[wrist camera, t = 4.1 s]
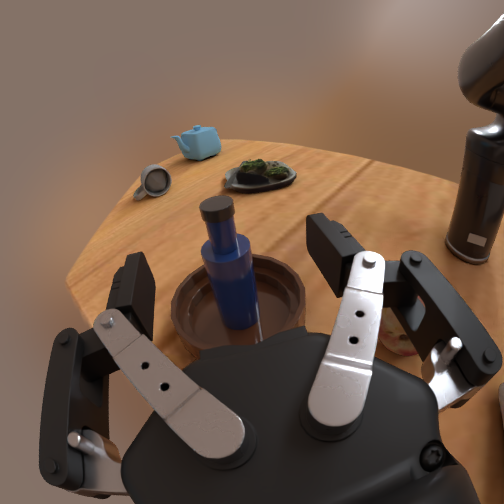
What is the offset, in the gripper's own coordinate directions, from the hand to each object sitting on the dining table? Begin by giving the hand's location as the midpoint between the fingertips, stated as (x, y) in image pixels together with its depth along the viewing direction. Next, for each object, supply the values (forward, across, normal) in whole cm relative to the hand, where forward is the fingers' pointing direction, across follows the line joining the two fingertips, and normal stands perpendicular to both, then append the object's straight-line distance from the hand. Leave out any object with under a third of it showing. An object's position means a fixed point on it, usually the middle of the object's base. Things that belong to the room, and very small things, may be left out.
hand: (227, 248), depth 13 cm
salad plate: (+52, -12, +18) cm, 57 cm away
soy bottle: (+11, 0, +18) cm, 21 cm away
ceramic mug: (+59, +15, +18) cm, 64 cm away
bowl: (+11, 0, +18) cm, 22 cm away
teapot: (+84, +2, +18) cm, 86 cm away
